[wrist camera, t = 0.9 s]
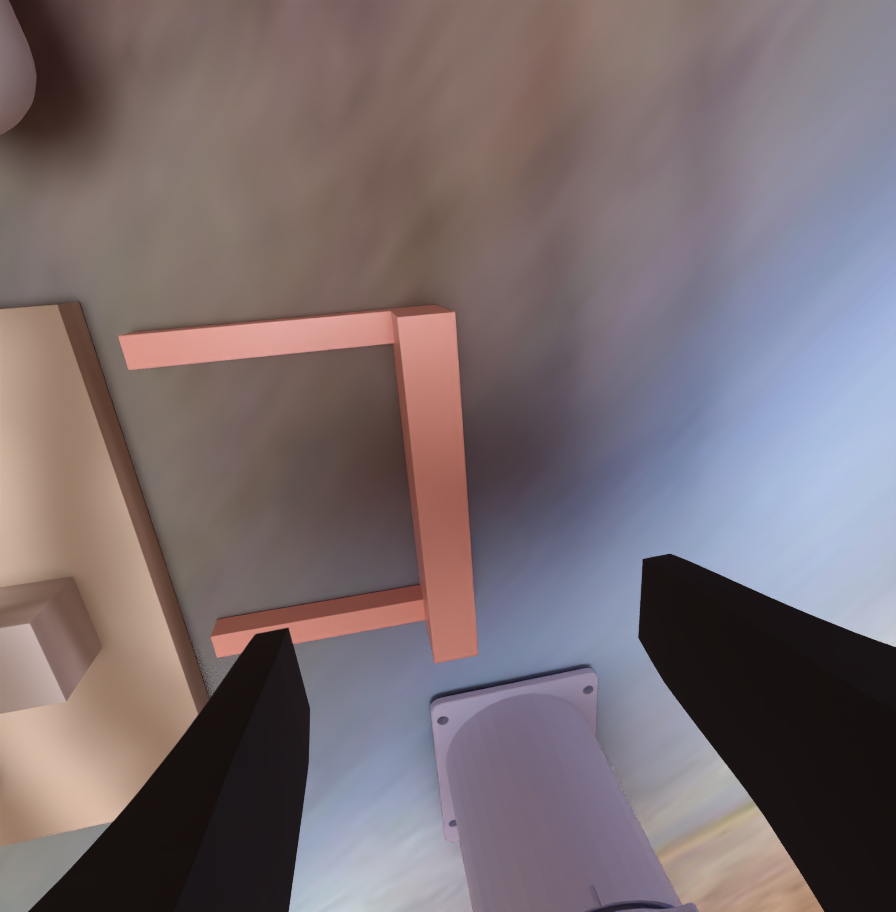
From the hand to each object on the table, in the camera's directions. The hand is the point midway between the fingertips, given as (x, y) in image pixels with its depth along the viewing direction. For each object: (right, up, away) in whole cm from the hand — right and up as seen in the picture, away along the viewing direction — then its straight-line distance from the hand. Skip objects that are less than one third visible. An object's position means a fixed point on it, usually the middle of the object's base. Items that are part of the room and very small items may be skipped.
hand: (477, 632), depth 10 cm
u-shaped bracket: (-5, +2, +8) cm, 10 cm away
